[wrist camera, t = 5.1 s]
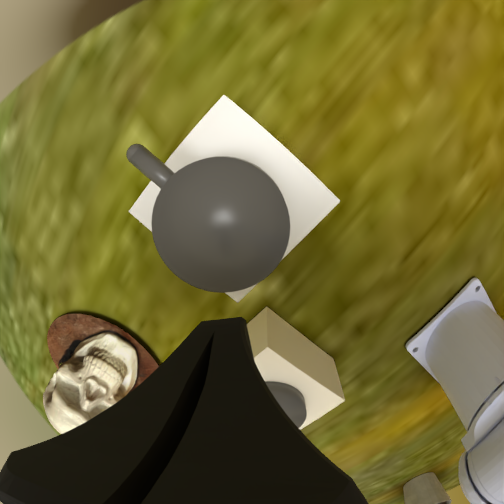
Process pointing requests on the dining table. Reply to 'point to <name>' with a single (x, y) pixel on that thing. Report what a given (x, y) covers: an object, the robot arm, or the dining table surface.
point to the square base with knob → (257, 152)
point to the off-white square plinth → (295, 363)
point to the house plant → (425, 490)
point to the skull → (91, 369)
